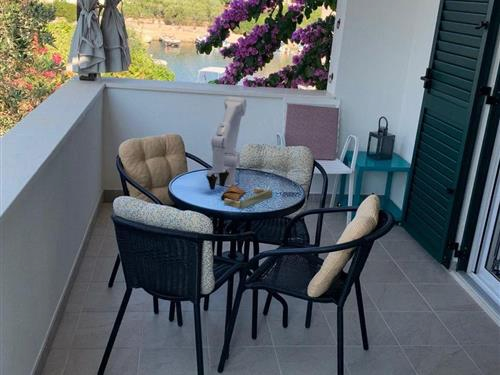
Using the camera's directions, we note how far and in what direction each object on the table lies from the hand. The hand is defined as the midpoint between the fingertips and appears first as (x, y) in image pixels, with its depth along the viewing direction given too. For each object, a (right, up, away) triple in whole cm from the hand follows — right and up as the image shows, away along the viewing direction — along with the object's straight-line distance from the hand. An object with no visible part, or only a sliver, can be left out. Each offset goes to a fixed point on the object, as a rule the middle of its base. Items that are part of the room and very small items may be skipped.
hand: (217, 187), depth 276 cm
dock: (+15, -6, -9) cm, 18 cm away
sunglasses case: (+8, -5, -4) cm, 10 cm away
